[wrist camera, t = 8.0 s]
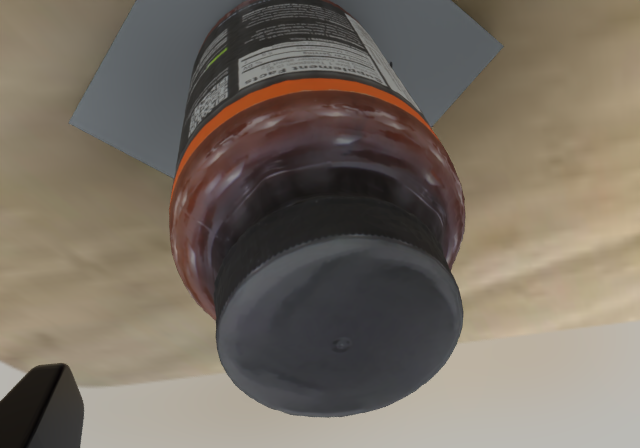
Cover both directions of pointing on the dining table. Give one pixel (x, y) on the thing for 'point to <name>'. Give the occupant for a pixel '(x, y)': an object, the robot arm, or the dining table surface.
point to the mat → (203, 14)
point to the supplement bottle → (315, 213)
